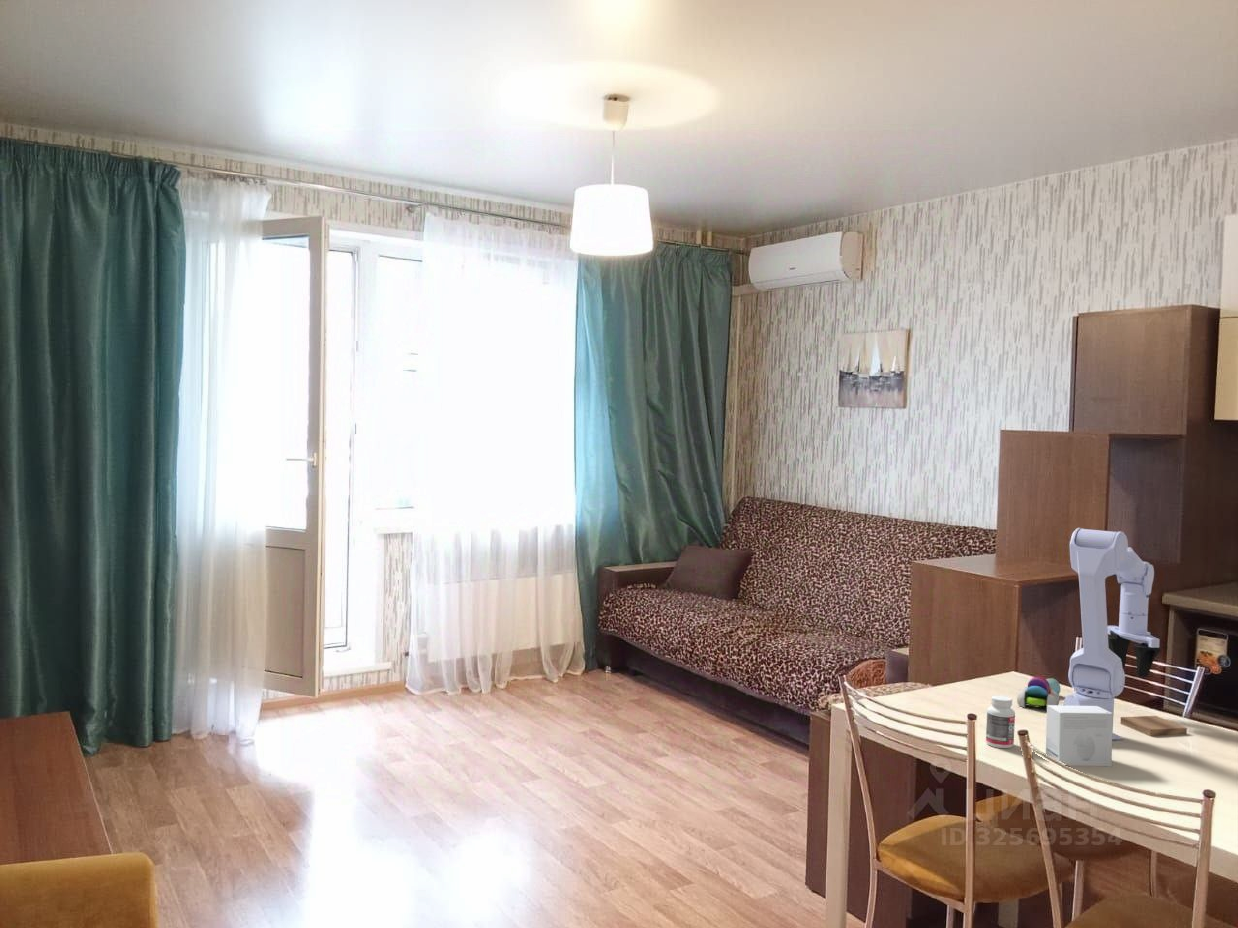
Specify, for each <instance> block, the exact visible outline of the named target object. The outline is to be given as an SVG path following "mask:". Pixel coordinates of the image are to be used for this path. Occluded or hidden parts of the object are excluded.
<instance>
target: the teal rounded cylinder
mask: <svg viewBox="0 0 1238 928" xmlns="http://www.w3.org/2000/svg"><path fill="white" fill-rule="evenodd" d="M1045 679H1046V680H1047V681H1048V683H1049V686H1050V688H1051V691H1055V692H1056V693H1057V694H1058V695H1060V693H1061V685H1060V683H1059V681H1058V680H1057V679H1055V678H1053V677H1052V678H1045Z"/></svg>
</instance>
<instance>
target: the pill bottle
mask: <svg viewBox="0 0 1238 928" xmlns="http://www.w3.org/2000/svg"><path fill="white" fill-rule="evenodd" d="M990 699H991V700H990V702H991V703H990V704H991V705H990V706H989V707H987V709H986V728H985V729H986V730H985V731H986V732H985V743H986V744H987V745H988V746H991V747H994V748H997V749H1011V748H1013V747H1014V743H1015V742H1014V741H1015V722H1016V712H1015V710H1014V709H1012V708H1011V707H1012V705H1013V698H1012V697H1009V696H1004V695H993V696H991V698H990Z"/></svg>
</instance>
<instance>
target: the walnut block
mask: <svg viewBox="0 0 1238 928" xmlns="http://www.w3.org/2000/svg"><path fill="white" fill-rule="evenodd" d="M1120 725H1123V726H1124V727H1127V728H1130V729H1132V730H1135V731H1136V732H1139V733H1140V734H1144V735H1146V736H1149V737H1162V736H1179V735H1180V736H1181V735H1187V734H1188V733H1187V731H1188V730H1187V729H1188V728H1187V727H1185V726H1183V725H1180V724H1178V723H1175V722H1172V721H1170V720H1167V719H1165V718H1163V717H1160V716H1157V715H1144V716H1142V715H1141V716H1139V715H1138V716H1120Z"/></svg>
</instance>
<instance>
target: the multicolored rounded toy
mask: <svg viewBox="0 0 1238 928" xmlns="http://www.w3.org/2000/svg"><path fill="white" fill-rule="evenodd" d="M1046 679H1047V678H1045V677H1043V676H1040V675H1039V676H1038V675H1037V676H1034V677H1032V678H1030V680H1029V681H1028V682H1027V686H1025V687H1024V688H1021V690H1020V692H1018V693H1017V695H1016V702H1017V704H1018V706H1020V707H1021V708H1026V706H1027V704H1029V705H1031V706H1038V707H1039V706H1040V707H1045V706H1047V705H1059V704H1060V700H1061V699H1060V696H1059V695H1060V694H1059V695H1058V694H1057V693H1056V692H1055V691H1051V688H1050V686H1049V683H1048V681H1047V680H1046Z"/></svg>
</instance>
